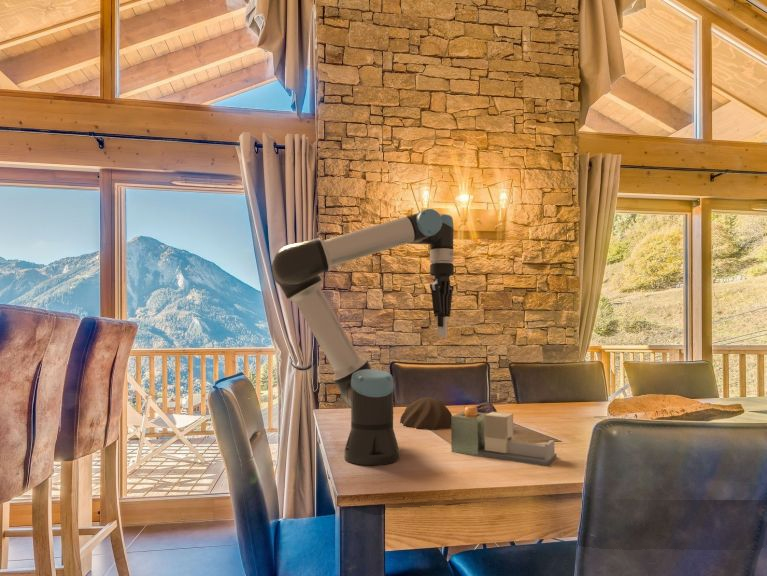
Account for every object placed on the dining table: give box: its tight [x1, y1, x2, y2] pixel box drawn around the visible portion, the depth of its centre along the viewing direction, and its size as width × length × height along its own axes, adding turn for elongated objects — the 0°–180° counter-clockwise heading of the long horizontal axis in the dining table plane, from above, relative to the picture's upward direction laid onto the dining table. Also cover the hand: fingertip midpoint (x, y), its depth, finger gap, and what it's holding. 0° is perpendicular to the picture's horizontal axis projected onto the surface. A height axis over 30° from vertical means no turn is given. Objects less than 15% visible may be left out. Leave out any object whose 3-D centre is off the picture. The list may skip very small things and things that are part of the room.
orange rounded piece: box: [464, 405, 477, 417], centre depth 147 cm, size 4×4×4 cm
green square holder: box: [450, 410, 488, 456], centre depth 146 cm, size 10×8×10 cm
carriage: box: [485, 411, 514, 453], centre depth 142 cm, size 7×6×10 cm
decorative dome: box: [399, 396, 453, 430], centre depth 184 cm, size 19×20×10 cm
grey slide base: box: [478, 439, 557, 467], centre depth 139 cm, size 10×19×5 cm, turn 58°
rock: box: [474, 401, 498, 414], centre depth 175 cm, size 12×9×10 cm
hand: (442, 337), depth 159 cm, fingers closed
